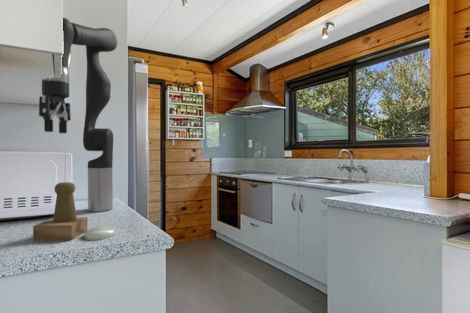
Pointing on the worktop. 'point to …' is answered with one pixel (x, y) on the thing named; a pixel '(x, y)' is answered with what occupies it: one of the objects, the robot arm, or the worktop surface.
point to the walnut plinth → (59, 230)
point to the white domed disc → (99, 233)
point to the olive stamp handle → (64, 203)
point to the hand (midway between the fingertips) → (56, 132)
